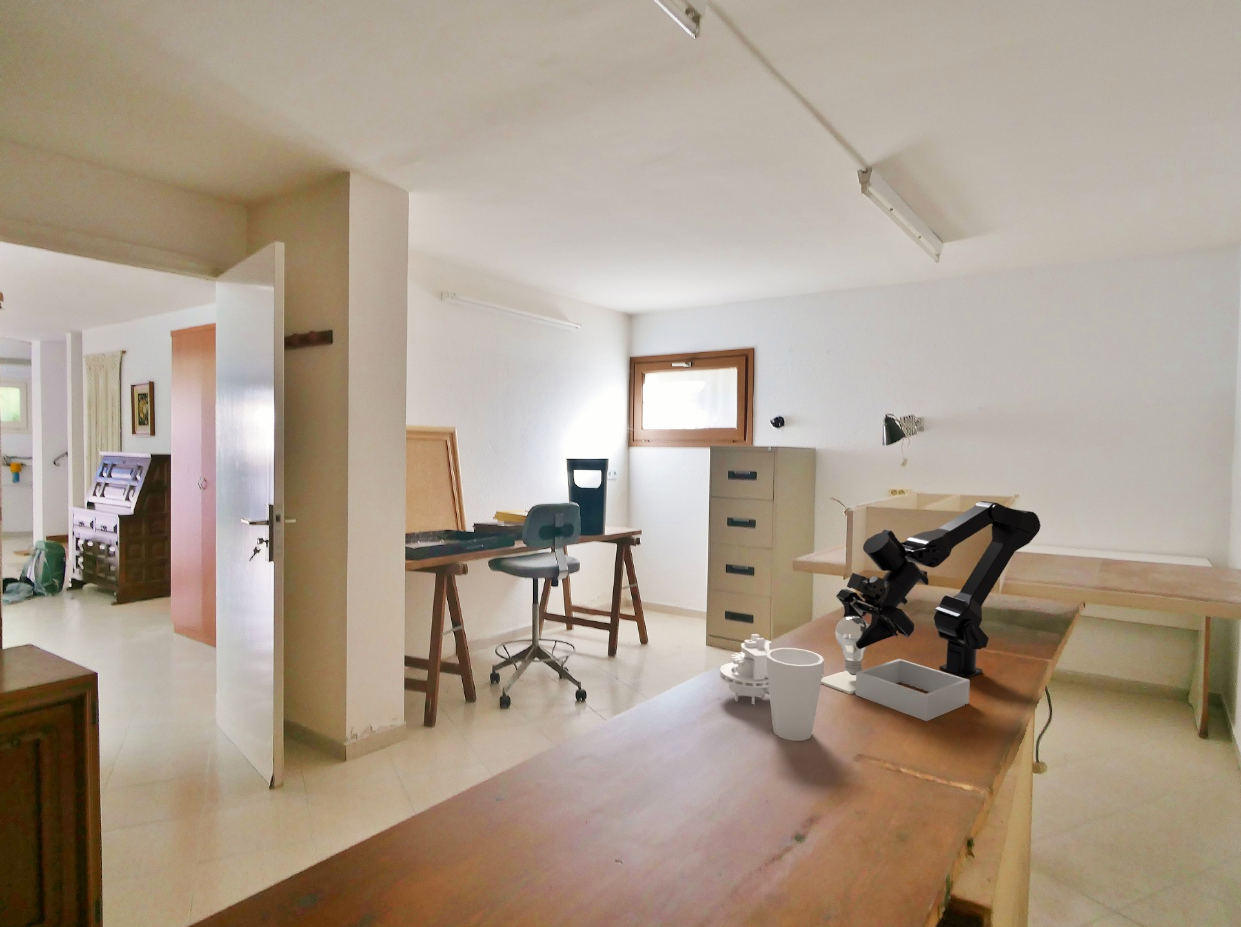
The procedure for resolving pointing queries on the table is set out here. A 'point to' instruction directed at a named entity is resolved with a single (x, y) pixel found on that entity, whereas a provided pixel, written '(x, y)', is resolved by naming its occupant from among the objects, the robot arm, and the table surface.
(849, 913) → the table surface
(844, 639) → the light bulb
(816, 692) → the foam cup
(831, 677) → the cream board
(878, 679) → the grey box
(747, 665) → the mechanical part
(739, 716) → the table surface
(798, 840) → the table surface
